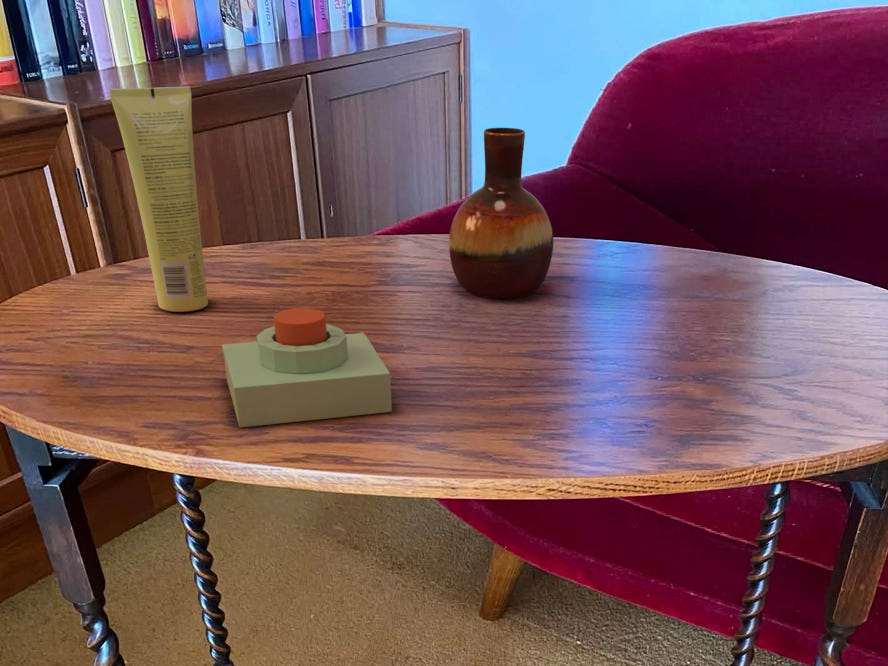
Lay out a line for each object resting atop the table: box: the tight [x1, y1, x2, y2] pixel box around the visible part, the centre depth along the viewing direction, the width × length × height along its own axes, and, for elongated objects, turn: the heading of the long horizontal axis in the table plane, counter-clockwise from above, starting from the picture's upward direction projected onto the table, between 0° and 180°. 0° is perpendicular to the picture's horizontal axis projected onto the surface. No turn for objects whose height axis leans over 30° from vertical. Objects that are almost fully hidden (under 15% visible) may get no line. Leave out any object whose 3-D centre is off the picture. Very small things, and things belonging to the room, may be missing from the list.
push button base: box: [221, 323, 393, 429], centre depth 78 cm, size 12×10×5 cm
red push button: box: [273, 307, 327, 346], centre depth 76 cm, size 4×4×2 cm
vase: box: [448, 127, 554, 300], centre depth 100 cm, size 11×11×15 cm
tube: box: [109, 85, 209, 313], centre depth 92 cm, size 6×5×20 cm
